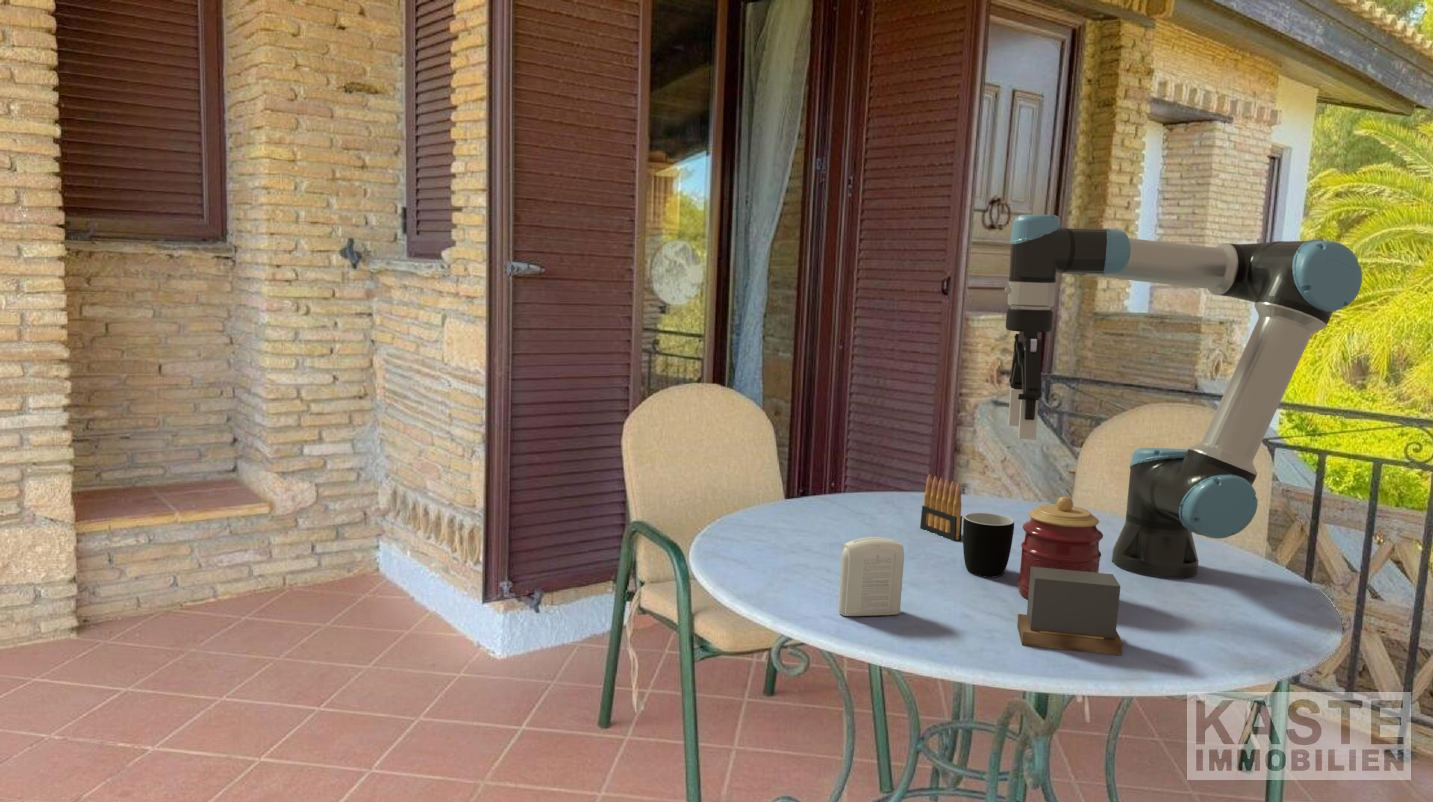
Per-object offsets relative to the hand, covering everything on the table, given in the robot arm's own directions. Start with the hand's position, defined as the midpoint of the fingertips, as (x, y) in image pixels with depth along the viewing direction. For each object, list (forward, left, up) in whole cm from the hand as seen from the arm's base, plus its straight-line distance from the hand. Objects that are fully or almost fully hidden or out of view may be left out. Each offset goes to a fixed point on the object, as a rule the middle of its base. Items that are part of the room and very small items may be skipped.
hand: (1021, 432), depth 171 cm
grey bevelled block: (-7, +23, -26) cm, 35 cm away
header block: (-7, +23, -28) cm, 37 cm away
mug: (+4, -10, -28) cm, 30 cm away
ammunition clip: (+11, -33, -28) cm, 45 cm away
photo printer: (+23, +20, -28) cm, 42 cm away
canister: (-8, +2, -28) cm, 29 cm away
